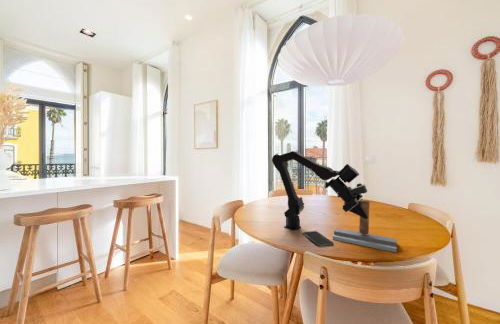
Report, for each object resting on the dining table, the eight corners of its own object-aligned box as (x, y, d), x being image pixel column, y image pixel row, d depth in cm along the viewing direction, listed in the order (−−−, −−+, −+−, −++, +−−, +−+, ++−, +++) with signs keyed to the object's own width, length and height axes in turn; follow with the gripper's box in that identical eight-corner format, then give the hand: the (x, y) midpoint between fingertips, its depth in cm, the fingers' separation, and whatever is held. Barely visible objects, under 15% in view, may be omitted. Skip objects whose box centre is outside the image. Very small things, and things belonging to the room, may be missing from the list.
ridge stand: (332, 239, 100) (332, 232, 100) (337, 232, 109) (337, 226, 109) (396, 252, 87) (396, 245, 87) (396, 243, 96) (396, 236, 96)
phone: (317, 245, 93) (301, 232, 107) (317, 247, 93) (301, 234, 107) (334, 243, 94) (316, 230, 109) (334, 245, 94) (316, 233, 109)
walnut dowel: (360, 233, 97) (360, 201, 96) (358, 230, 100) (359, 199, 99) (369, 234, 96) (370, 202, 95) (367, 231, 99) (368, 200, 98)
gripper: (351, 180, 91) (382, 211, 86) (358, 176, 107) (384, 201, 101) (331, 197, 96) (359, 227, 90) (340, 190, 111) (364, 216, 106)
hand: (367, 217), depth 97 cm, fingers closed on walnut dowel, 3 cm apart
